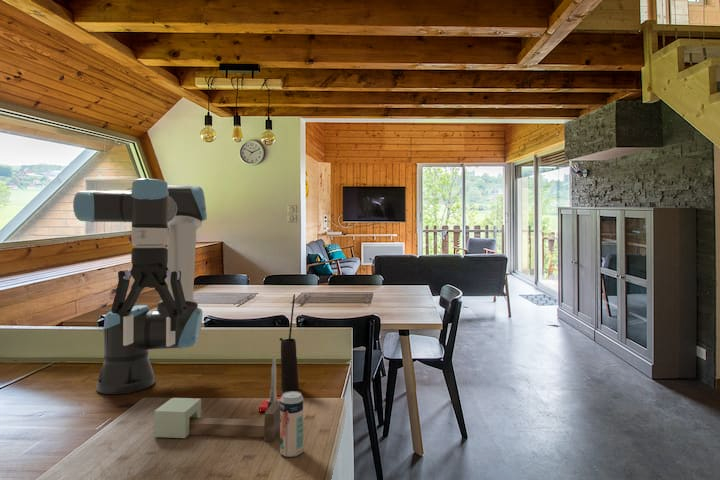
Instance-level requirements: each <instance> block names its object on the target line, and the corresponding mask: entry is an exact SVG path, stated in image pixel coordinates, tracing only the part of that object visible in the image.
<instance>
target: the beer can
mask: <svg viewBox="0 0 720 480" xmlns="http://www.w3.org/2000/svg"><path fill="white" fill-rule="evenodd" d="M280 397H281V399H280V431H279V453H280V455H282V456H284V457H285V458H295V457H298V456H299V455H301V454H302V453H303V452H304V396H303V395H302V392H300V391H298V390H297V391H290V392H283V393H282V396H280Z"/></svg>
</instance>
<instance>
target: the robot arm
mask: <svg viewBox="0 0 720 480" xmlns="http://www.w3.org/2000/svg"><path fill="white" fill-rule="evenodd" d="M72 206H73V213H74V217H76V219H77V220H79V221H80V222H88V223H89V222H90V223H107V222H108V223H131V245H132V246H134V247H133V248H132V249H131V252H130V253H131V258H130V260H131V262H130V263H131V264H132V267H131V269H130V270H129V269H125V270H119V271H118V272H117V278H118V281H117V286H116V289H115V293H114V298H113V302H112V306H111V309H110V311H109V312H107V313H106V314H105V316H104V324H103V328H102V329H103V364H102V368H101V370H100V372H99V375H98V377H97V381H96V391H97V392H98V393H99V394H103V395H104V394H105V395H121V394H128V393H134V392H138V391H142V390H145V389H148V388H150V387H151V386H153V385H154V383H156V381H155V372H154V370H153V367H152V364H151V362H150V358H149V350H162V349H163V350H165V349H167V350H168V349H180V350H181V349H182V348H191V347H194V346H195V345H196V344H197V343H198V341H199V339H200V333H201V329H202V324H203V309H202V308H199V307H198V306H199V305H198V301H196V300H195V299H194V285H195V283H194V282H195V267H196V266H195V265H196V250H197V249H196V245H197V230H198V229H199V228H201V227H202V223H203V221H207V216H208V215H207V205H206V199H205V192H204V190H203V188H202V187H200V186H196V185H189V184H188V185H174V184H173V185H172V184H171V185H170V184H168V182H167V181H165V180H162V179H157V178H136V179H134V180H133V181H132V185H131V187H128V188H126V189H125V190H79V191H77V192H76V193H75V194H74V197H73V204H72ZM166 246H167V247H166ZM131 279H133V280H134V281H133V283H132V285H131V288H130V291H129V286H130V281H131ZM145 288H150V289H154V290H155V291H156V292H157V293H158V295H159V297H160V298H161V299H160V300H159V301H158V302H157V305H156V306H157V308H156V309H154V310H153V309H151V310H150V307H149V306H148V305H147V304H144V305H143V304H142V305H135V304H136V302H137V300H138V298H139V297H140V295H141V293H142V291H143V290H144V289H145ZM128 291H129V293H128ZM127 294H128V295H127Z"/></svg>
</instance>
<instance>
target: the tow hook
mask: <svg viewBox="0 0 720 480" xmlns="http://www.w3.org/2000/svg"><path fill="white" fill-rule="evenodd" d="M276 363H277V357H276V356H275V357H272V366H271V374H270V376H271V377H270V378H271V379H270V380H271V381H270V390H269V398H266V399H264V400H263V401H261V404H260V405H259V406H258V412H259V411H260V410H261V411H267V410H268V408H269V407H270V405H271V404H272V403H273V402H278V401H277V399H281V397H282V396H277V395H278V391H277V364H276ZM267 399H270V401H269V402H268V401H266V400H267ZM261 405H262V406H261Z"/></svg>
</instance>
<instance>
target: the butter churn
mask: <svg viewBox="0 0 720 480" xmlns="http://www.w3.org/2000/svg"><path fill="white" fill-rule="evenodd" d="M292 298H293V299H292V306H291V315H290V323H289V335H288V338H287V339H283V338H282V337H280V338H279V341H280V377H281V378H280V381H281V382H280V384H281V385H280V389H281V391H282V392H283V393H286V392H290V391H297V392H298V390H299V389H300V385H299V382H300V381H299V371H298V357H297V342H296V339H295V338H291V337H292V331H293V330H292V327H293V319H294V307H295V299H296V294H293V297H292Z"/></svg>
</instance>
